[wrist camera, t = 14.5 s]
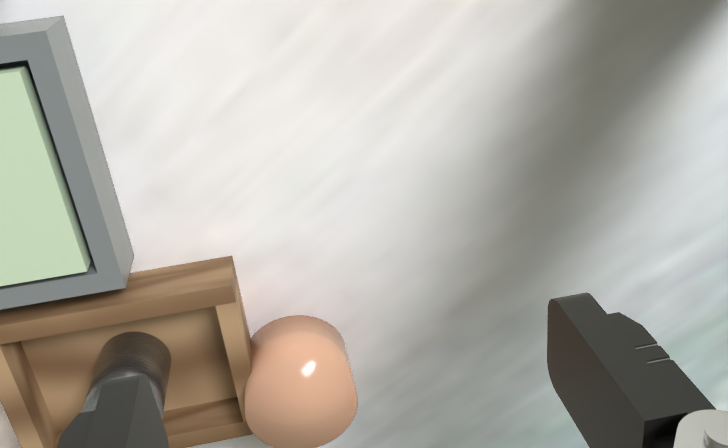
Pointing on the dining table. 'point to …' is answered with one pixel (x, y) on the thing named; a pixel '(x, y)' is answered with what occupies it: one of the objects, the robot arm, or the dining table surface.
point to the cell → (132, 365)
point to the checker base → (69, 162)
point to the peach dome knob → (299, 384)
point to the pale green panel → (33, 192)
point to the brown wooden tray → (132, 314)
